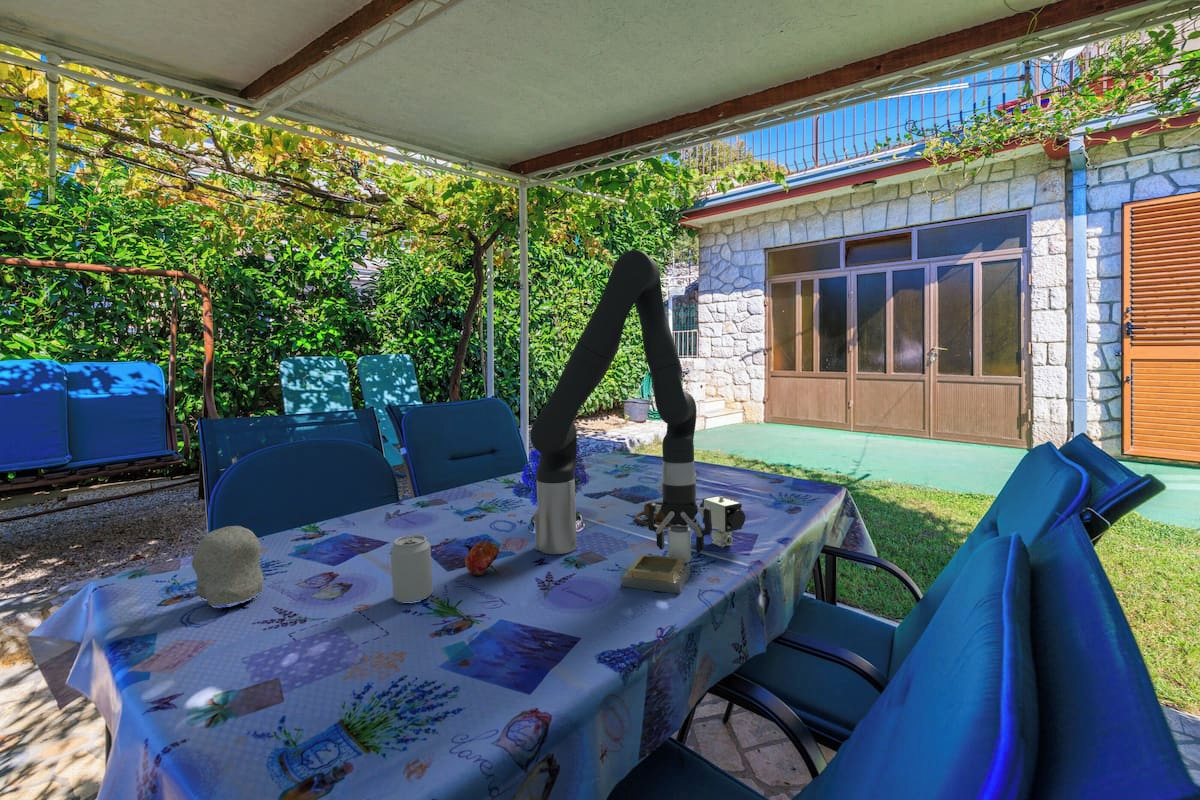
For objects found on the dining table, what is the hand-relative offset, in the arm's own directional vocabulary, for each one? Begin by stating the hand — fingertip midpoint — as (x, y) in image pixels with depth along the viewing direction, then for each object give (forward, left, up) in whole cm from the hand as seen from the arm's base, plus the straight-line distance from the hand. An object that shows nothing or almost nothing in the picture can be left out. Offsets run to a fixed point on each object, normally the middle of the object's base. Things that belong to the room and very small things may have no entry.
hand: (680, 550), depth 129 cm
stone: (-80, -48, -2) cm, 94 cm away
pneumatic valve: (+8, +13, -2) cm, 15 cm away
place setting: (-10, +31, -3) cm, 32 cm away
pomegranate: (-39, -20, -2) cm, 44 cm away
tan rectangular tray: (-2, -13, -2) cm, 13 cm away
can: (-46, -35, -2) cm, 58 cm away
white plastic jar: (0, 0, -2) cm, 2 cm away
